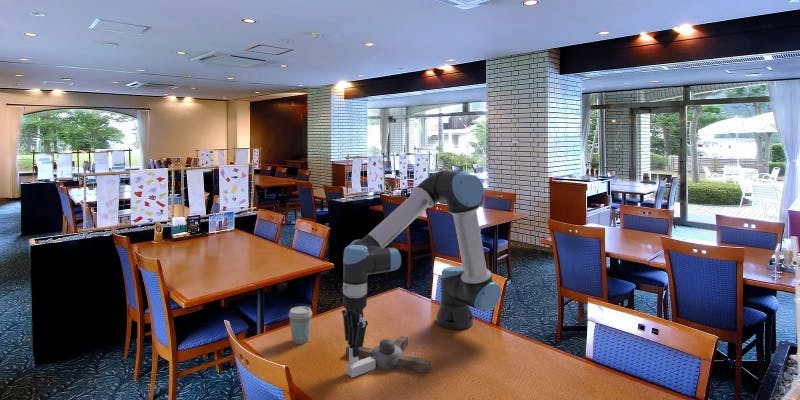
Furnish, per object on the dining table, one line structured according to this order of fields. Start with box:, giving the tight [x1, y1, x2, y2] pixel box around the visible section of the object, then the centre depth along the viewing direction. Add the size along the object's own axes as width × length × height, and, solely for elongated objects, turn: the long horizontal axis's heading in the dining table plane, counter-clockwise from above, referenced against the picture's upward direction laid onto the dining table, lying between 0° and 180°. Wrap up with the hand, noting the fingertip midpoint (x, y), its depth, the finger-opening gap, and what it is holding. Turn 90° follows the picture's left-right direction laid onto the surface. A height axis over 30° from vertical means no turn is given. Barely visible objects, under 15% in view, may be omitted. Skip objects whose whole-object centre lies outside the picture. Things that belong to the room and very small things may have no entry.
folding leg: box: [346, 357, 376, 378], centre depth 144 cm, size 9×3×3 cm, turn 130°
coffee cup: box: [288, 305, 313, 345], centre depth 166 cm, size 8×8×12 cm
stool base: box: [345, 335, 432, 374], centre depth 151 cm, size 23×23×7 cm
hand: (353, 364), depth 145 cm, fingers closed
